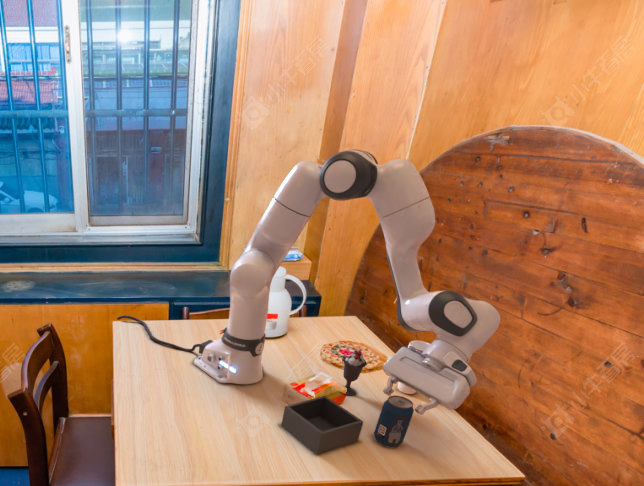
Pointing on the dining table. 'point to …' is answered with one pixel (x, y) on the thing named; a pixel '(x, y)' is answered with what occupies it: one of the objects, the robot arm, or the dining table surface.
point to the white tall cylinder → (422, 347)
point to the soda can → (393, 421)
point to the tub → (321, 424)
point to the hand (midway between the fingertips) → (401, 402)
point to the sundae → (353, 369)
